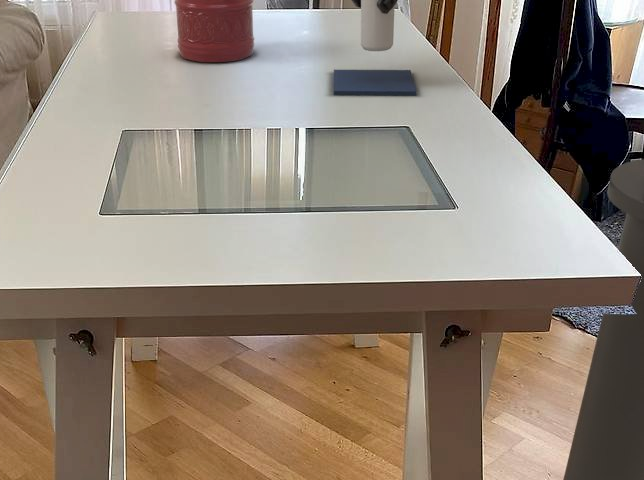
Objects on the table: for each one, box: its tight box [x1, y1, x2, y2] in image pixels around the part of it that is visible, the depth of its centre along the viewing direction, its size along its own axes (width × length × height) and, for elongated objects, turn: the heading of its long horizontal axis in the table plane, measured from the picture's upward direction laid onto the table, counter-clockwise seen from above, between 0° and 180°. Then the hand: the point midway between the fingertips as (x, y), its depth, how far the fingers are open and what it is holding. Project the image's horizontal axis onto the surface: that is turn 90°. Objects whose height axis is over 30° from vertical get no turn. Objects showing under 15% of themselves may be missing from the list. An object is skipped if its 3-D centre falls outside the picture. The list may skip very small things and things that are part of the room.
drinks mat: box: [333, 69, 418, 96], centre depth 127 cm, size 12×12×1 cm
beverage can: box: [360, 0, 395, 52], centre depth 121 cm, size 5×5×12 cm
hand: (368, 6), depth 120 cm, fingers closed on beverage can, 5 cm apart
